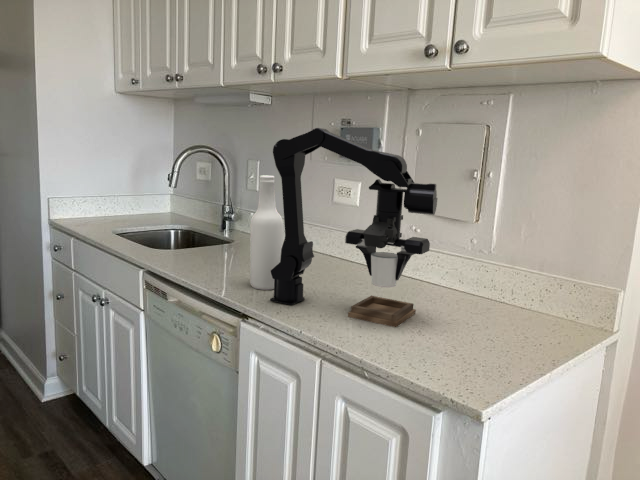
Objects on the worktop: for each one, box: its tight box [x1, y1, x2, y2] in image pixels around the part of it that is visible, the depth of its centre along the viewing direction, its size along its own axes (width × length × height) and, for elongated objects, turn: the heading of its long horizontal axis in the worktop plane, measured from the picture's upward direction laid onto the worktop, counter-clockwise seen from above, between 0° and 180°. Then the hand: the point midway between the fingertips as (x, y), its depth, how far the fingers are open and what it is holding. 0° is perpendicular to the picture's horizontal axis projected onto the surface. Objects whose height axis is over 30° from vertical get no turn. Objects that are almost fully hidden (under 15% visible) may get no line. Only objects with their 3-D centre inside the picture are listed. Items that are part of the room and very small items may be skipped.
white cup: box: [370, 251, 398, 288], centre depth 122 cm, size 7×7×7 cm
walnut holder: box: [347, 295, 417, 328], centre depth 124 cm, size 12×12×2 cm
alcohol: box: [249, 174, 284, 291], centre depth 142 cm, size 9×9×30 cm
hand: (384, 277), depth 123 cm, fingers closed on white cup, 6 cm apart
